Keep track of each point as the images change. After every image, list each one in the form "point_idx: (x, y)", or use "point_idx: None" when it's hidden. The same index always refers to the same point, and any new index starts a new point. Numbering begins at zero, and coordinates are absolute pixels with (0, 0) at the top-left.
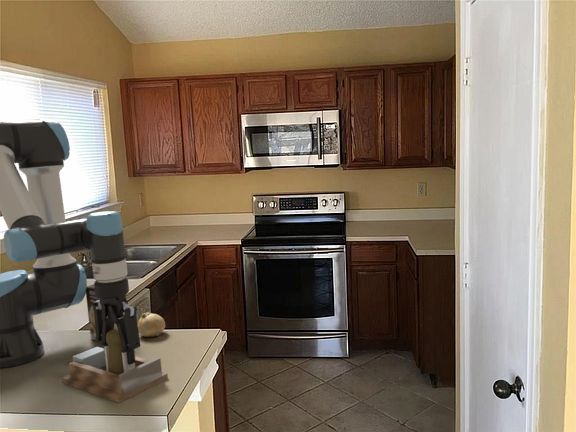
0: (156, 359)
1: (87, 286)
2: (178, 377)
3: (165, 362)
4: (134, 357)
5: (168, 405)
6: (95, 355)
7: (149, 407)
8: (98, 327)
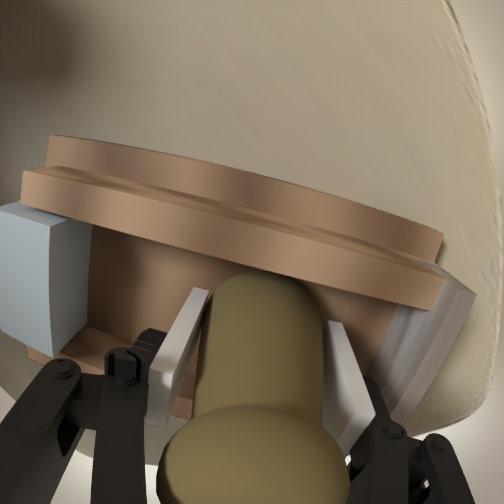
0: (463, 313)
1: None
2: (466, 212)
3: (330, 67)
4: (381, 400)
5: (483, 380)
6: (53, 291)
7: (441, 405)
8: (51, 497)
